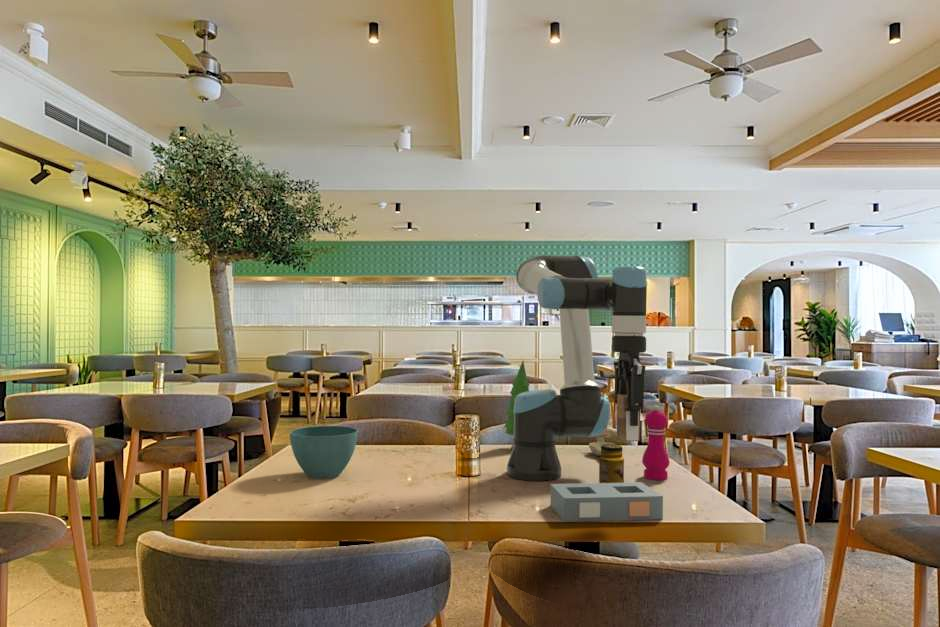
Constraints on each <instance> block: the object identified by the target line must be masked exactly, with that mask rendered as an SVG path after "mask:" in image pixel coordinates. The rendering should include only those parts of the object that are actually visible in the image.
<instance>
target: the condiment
mask: <svg viewBox="0 0 940 627" xmlns="http://www.w3.org/2000/svg"><path fill="white" fill-rule="evenodd" d="M615 444H616V443H614V444H604V445H602V446H601V456H598V460H599V461H598V471H599V472H598V473H599V474H598V476H599V477H598V483H625V479H624V478H625V477H624V476H625V474H624V473H625V472H624V471H625V459H624V456H623V455H624V453H623V446H622V445H619V444H616V445H615Z"/></svg>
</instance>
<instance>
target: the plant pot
mask: <svg viewBox="0 0 940 627" xmlns="http://www.w3.org/2000/svg"><path fill="white" fill-rule="evenodd" d="M358 434H359V430H358V429H357V428H355V427H352V426H344V425H343V426H340V425H317V426H316V425H315V426H314V425H313V426H306V427H300V428H296V429H292V430H290V431H289V442H290V445H291V448H292V449H291V450H292V453H293V456H294V458H295V460H296V462H297V464H298V465H299V467H300V468H301V470H302V471H303V473H304V474H305V475H306V476H307V477H309V478H310V479H314V480H315V479H318V480H326V479H333V478H336V477H338V476H340V475H341V474H342V472H343V471H345V469H346V467H347V466H348V464H349V462H350V461H351V459H352V457H353V454H354V452H355V450H356V446H357V442H358V441H357V440H358V437H359V436H358Z"/></svg>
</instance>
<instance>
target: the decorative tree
mask: <svg viewBox="0 0 940 627" xmlns="http://www.w3.org/2000/svg"><path fill="white" fill-rule="evenodd" d="M511 385H512V388H511V391H510V393H509V394H510V395H511V396H510V397H509V401H508V402H507V403H508V404H510V406H509V407H508V410H507V413H506V416H508V418H507V420H506V422H505V424H504V426H503V427H504V428H505V429H506V430H505V434H506V435H510V436H514V413H513V410H514V400H515V397H516V396H517V395H518V394H520V393H523V392H527V391H530V389H529V387H530V382H529V380H528V377H527V372H526V369H525V362H524V360H522V361H521V364H520V366H519V368H518V371H517V374H516V376H515V379H514V380H513V382H512V384H511ZM513 446H514V442H513V443H512V445H511V448H512V449H513ZM511 448H510V449H511ZM512 449H511V450H512Z"/></svg>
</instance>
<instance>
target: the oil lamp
mask: <svg viewBox="0 0 940 627" xmlns="http://www.w3.org/2000/svg"><path fill="white" fill-rule="evenodd" d="M588 438H595V439H596V442H589V444H588V447H589V449H590V451H591V453H592V454H593V455H594V456H596V457H600V456H601V446H602V445H604V444H615V445H617V444H616V443H613V442H605V438H609V439H610V438H612V436H611V432H610V431H609V430H608V427H607V428H606V430H605V432H604V433H603V434H601V435H599V436H589V437H588Z"/></svg>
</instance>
